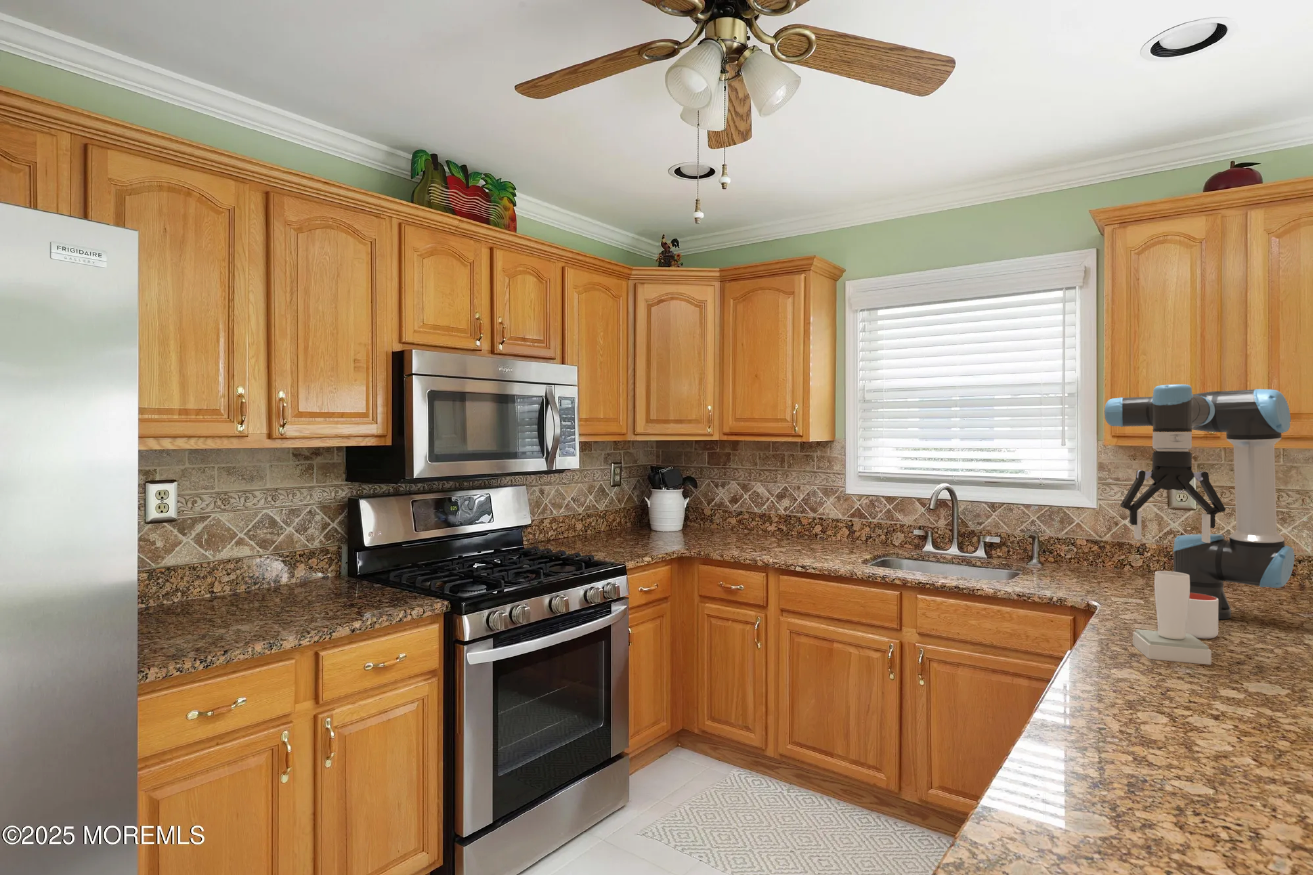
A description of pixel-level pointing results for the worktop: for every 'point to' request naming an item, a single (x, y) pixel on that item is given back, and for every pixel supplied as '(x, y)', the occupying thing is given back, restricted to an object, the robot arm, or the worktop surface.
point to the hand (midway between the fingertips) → (1171, 540)
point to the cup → (1202, 616)
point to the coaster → (1171, 647)
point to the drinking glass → (1172, 603)
